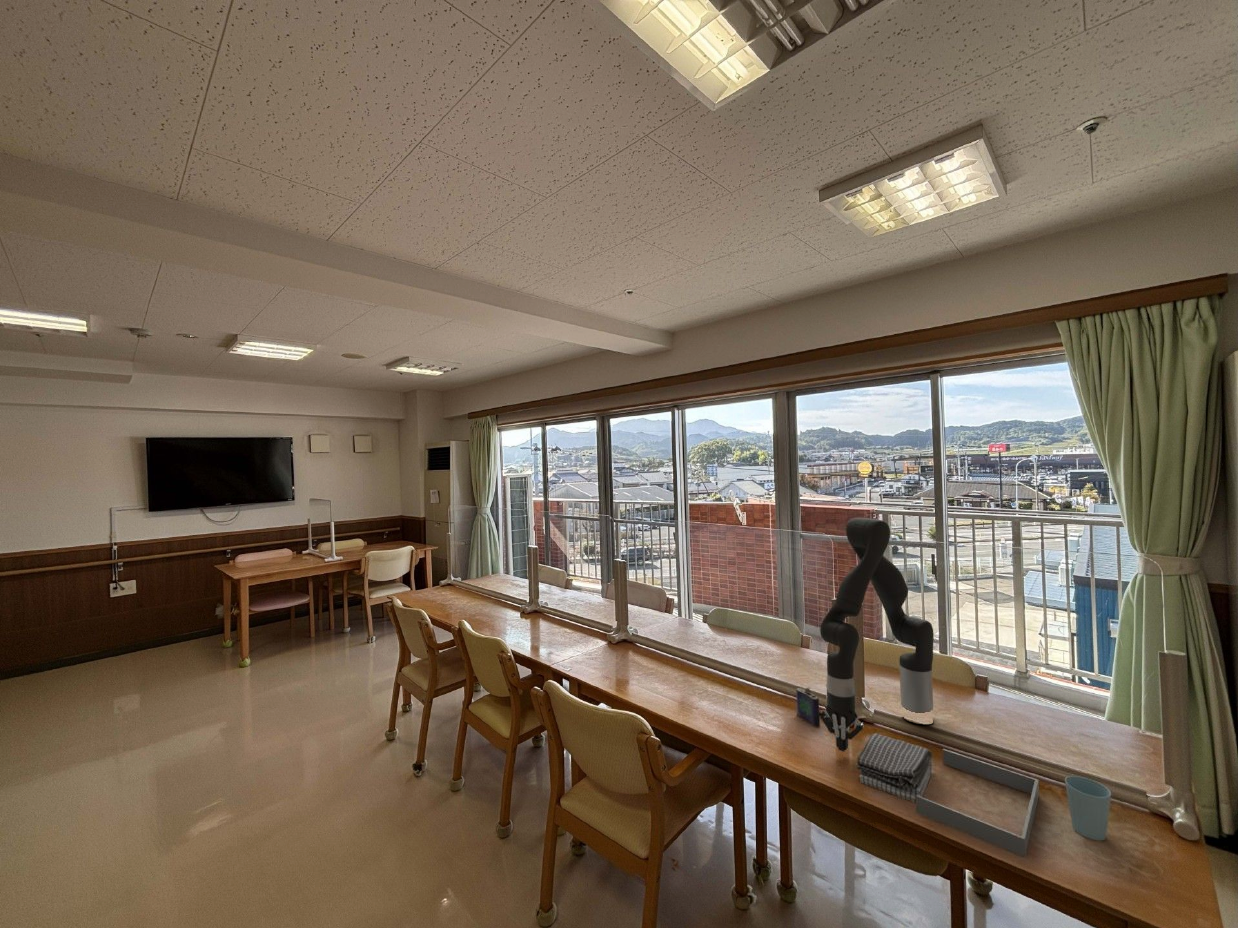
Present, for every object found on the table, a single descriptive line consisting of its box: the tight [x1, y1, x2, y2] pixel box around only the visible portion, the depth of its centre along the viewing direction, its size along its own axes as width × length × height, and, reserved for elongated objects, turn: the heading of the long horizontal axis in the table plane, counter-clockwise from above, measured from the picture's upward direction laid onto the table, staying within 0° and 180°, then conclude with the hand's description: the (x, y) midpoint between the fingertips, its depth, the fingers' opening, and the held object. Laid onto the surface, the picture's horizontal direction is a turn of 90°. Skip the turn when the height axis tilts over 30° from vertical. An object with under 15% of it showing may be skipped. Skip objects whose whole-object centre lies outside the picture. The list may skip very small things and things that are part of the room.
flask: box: [795, 687, 821, 728], centre depth 165 cm, size 9×3×11 cm, turn 24°
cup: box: [1064, 775, 1112, 842], centre depth 113 cm, size 8×8×10 cm
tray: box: [915, 748, 1040, 858], centre depth 123 cm, size 27×21×4 cm
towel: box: [855, 733, 933, 804], centre depth 135 cm, size 15×18×8 cm
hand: (842, 749), depth 145 cm, fingers closed
